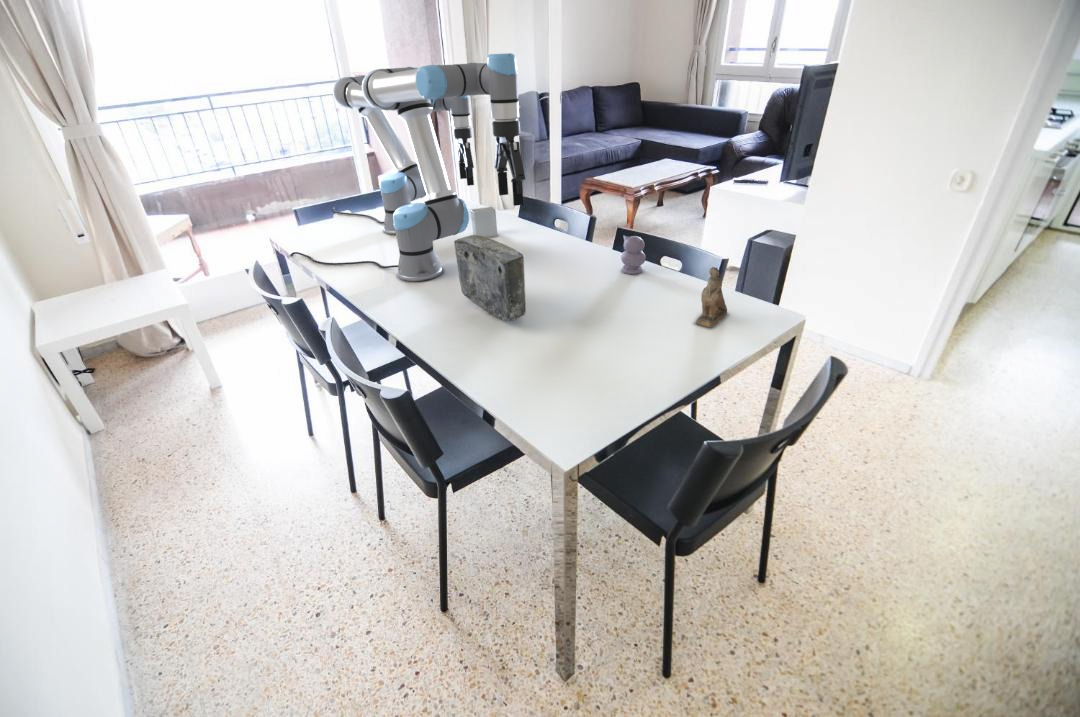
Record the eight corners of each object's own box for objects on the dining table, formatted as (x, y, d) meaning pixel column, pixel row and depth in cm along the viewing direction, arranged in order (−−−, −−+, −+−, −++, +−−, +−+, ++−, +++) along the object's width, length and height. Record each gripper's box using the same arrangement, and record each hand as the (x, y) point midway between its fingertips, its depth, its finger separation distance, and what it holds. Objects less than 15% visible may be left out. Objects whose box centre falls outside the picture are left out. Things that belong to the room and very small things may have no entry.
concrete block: (533, 322, 141) (530, 255, 130) (507, 332, 136) (501, 263, 126) (485, 293, 159) (479, 232, 149) (460, 300, 155) (452, 238, 145)
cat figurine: (649, 270, 171) (652, 236, 165) (636, 276, 167) (638, 242, 160) (628, 264, 176) (630, 231, 170) (615, 271, 172) (617, 237, 165)
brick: (476, 239, 208) (473, 212, 202) (473, 235, 212) (470, 209, 206) (497, 236, 210) (495, 209, 204) (493, 232, 215) (491, 206, 209)
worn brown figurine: (709, 335, 136) (713, 280, 124) (691, 329, 139) (693, 274, 128) (730, 313, 142) (736, 258, 130) (712, 307, 145) (716, 253, 133)
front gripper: (535, 123, 126) (538, 207, 137) (504, 115, 146) (509, 189, 157) (506, 125, 124) (512, 211, 135) (480, 117, 143) (486, 192, 155)
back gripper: (478, 130, 192) (482, 187, 203) (464, 123, 212) (468, 175, 223) (459, 131, 189) (464, 189, 201) (446, 124, 209) (452, 176, 221)
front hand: (510, 199), depth 146 cm, fingers open, 13 cm apart
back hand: (466, 181), depth 212 cm, fingers open, 13 cm apart
